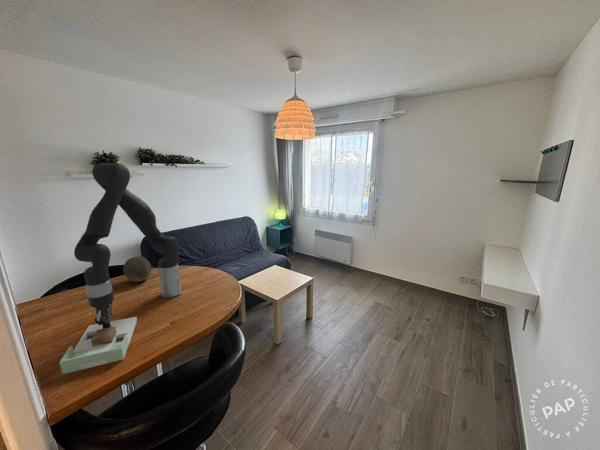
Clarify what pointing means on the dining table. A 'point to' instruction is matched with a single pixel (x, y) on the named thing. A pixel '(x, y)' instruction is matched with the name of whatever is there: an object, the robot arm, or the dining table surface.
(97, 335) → the block
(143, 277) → the cantaloupe
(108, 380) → the dining table surface
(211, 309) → the dining table surface
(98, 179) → the robot arm
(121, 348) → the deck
